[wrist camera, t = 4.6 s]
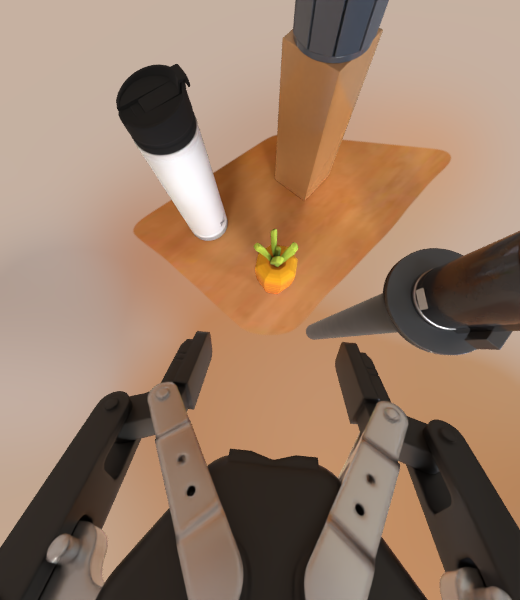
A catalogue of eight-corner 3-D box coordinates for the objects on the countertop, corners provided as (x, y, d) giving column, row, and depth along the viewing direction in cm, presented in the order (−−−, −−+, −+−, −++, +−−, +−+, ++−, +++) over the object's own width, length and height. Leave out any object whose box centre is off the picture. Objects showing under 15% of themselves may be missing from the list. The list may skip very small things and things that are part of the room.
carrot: (251, 292, 34) (240, 253, 19) (268, 267, 35) (270, 211, 20) (278, 309, 33) (287, 282, 19) (294, 283, 34) (316, 237, 19)
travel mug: (236, 228, 36) (202, 94, 17) (202, 247, 36) (126, 131, 16) (218, 201, 38) (167, 45, 18) (185, 219, 37) (94, 78, 17)
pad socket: (332, 174, 38) (429, -72, 15) (304, 204, 37) (364, -13, 14) (299, 151, 39) (344, -109, 17) (271, 180, 38) (278, -57, 16)
